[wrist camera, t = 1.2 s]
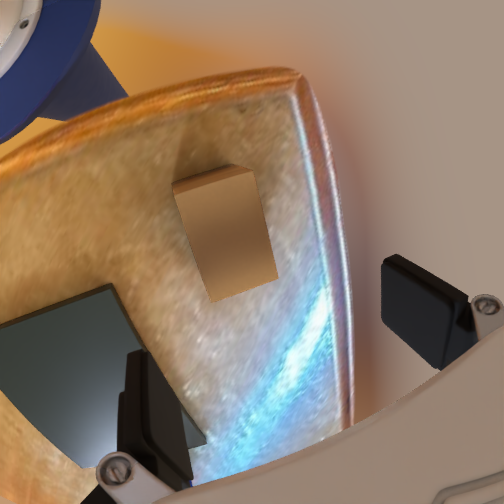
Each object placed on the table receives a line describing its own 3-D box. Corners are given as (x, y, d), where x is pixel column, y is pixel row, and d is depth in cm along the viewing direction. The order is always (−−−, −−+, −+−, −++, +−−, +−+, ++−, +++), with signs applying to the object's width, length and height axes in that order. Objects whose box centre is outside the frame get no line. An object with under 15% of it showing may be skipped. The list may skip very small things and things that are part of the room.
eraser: (171, 182, 20) (173, 194, 16) (232, 163, 21) (253, 170, 16) (200, 270, 23) (211, 303, 18) (255, 251, 24) (279, 278, 19)
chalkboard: (-31, 336, 18) (-35, 342, 17) (111, 282, 21) (110, 288, 20) (82, 462, 27) (82, 468, 26) (205, 437, 30) (207, 444, 29)
